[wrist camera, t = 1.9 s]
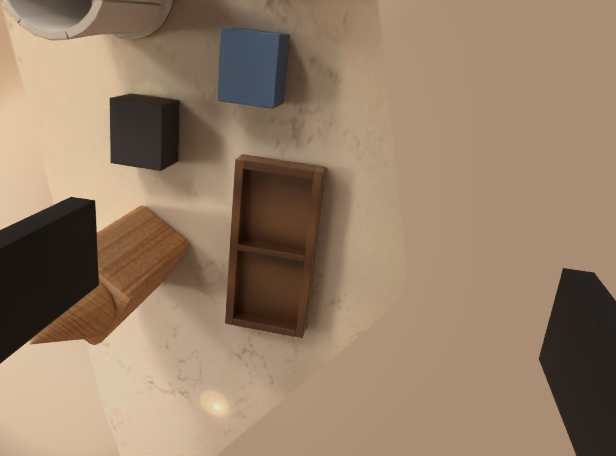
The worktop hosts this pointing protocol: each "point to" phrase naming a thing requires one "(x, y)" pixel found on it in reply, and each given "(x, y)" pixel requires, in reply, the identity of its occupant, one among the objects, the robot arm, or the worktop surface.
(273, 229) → the holder
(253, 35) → the slate blue block
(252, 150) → the worktop surface
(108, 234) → the decorative item
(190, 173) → the worktop surface
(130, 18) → the cup
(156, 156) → the dark grey block
